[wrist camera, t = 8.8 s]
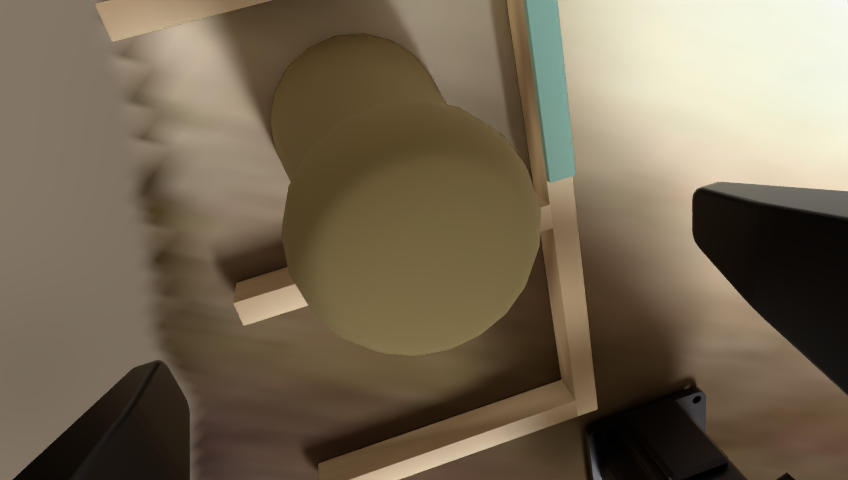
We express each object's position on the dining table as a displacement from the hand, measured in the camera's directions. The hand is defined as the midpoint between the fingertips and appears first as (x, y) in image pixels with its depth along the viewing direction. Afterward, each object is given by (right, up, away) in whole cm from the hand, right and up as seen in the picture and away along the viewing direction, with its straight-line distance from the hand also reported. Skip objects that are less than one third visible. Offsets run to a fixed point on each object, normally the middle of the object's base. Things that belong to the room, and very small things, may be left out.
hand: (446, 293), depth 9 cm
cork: (-3, +5, +11) cm, 12 cm away
